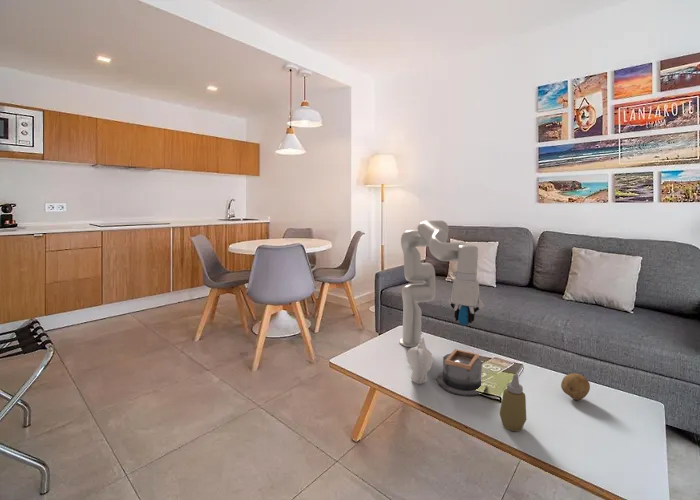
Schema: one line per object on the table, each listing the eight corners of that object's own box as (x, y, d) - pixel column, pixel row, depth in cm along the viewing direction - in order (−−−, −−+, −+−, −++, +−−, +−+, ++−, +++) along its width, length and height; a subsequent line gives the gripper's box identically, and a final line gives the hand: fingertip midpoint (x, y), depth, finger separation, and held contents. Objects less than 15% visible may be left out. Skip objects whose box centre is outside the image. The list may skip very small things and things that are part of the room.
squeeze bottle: (520, 419, 122) (523, 370, 120) (529, 435, 114) (533, 381, 112) (495, 418, 123) (498, 368, 121) (503, 433, 115) (506, 380, 113)
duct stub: (445, 369, 159) (446, 344, 158) (490, 380, 149) (492, 354, 147) (430, 387, 143) (431, 360, 142) (479, 401, 133) (481, 372, 132)
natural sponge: (569, 405, 131) (571, 379, 130) (555, 392, 140) (557, 368, 138) (593, 405, 131) (596, 380, 130) (578, 393, 140) (580, 368, 138)
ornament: (468, 329, 138) (470, 304, 137) (456, 327, 140) (457, 302, 139) (471, 323, 146) (472, 299, 144) (459, 321, 148) (460, 297, 146)
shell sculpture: (417, 388, 142) (419, 345, 140) (405, 379, 149) (406, 338, 147) (433, 384, 146) (435, 342, 144) (421, 375, 153) (422, 335, 151)
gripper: (442, 275, 142) (440, 319, 144) (487, 280, 133) (484, 328, 135) (448, 272, 148) (446, 315, 150) (491, 277, 139) (488, 322, 141)
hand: (464, 320), depth 143 cm, fingers closed on ornament, 4 cm apart
